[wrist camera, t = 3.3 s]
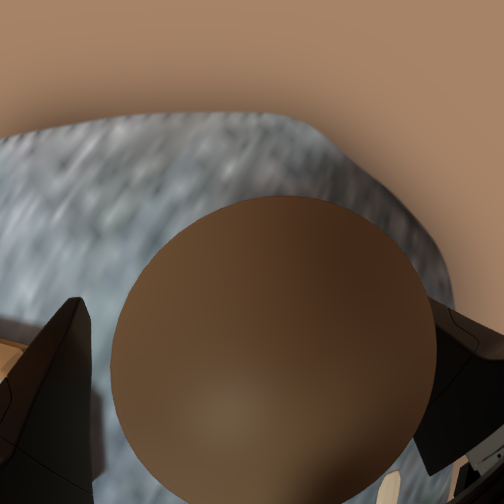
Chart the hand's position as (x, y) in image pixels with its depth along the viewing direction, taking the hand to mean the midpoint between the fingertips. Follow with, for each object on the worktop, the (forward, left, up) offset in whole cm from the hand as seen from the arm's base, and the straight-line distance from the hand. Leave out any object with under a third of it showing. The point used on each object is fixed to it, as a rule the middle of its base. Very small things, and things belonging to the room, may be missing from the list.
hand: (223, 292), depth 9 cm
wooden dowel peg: (-1, +1, -7) cm, 7 cm away
